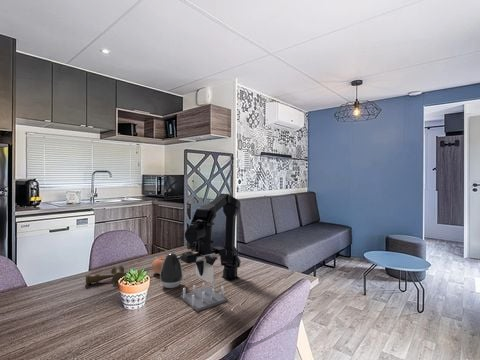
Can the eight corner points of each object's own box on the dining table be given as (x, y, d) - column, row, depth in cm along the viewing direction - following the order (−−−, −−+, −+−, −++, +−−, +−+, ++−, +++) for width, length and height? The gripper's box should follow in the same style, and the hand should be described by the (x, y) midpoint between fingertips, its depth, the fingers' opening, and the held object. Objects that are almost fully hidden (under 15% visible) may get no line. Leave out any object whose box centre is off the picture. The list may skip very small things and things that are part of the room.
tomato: (156, 278, 131) (156, 262, 131) (148, 272, 139) (148, 256, 139) (176, 273, 138) (176, 258, 138) (167, 267, 146) (168, 253, 146)
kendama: (86, 282, 126) (131, 274, 135) (85, 290, 118) (133, 281, 127) (86, 269, 126) (131, 263, 135) (84, 277, 117) (133, 269, 127)
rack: (209, 288, 120) (209, 277, 120) (227, 300, 109) (228, 288, 109) (179, 297, 111) (179, 286, 111) (196, 311, 100) (196, 298, 100)
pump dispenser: (177, 291, 117) (177, 257, 116) (155, 289, 119) (156, 255, 118) (186, 282, 127) (187, 251, 126) (166, 280, 129) (166, 249, 128)
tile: (200, 273, 115) (200, 259, 115) (213, 281, 107) (213, 266, 107) (195, 274, 113) (195, 260, 113) (208, 282, 105) (208, 267, 105)
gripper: (213, 231, 122) (212, 264, 122) (175, 236, 110) (174, 273, 110) (227, 235, 113) (226, 272, 114) (187, 242, 101) (187, 282, 102)
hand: (204, 274), depth 110 cm, fingers closed on tile, 2 cm apart
